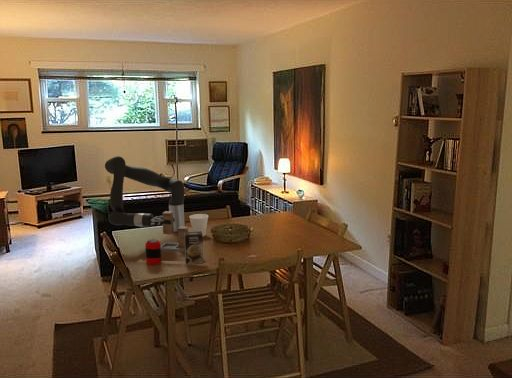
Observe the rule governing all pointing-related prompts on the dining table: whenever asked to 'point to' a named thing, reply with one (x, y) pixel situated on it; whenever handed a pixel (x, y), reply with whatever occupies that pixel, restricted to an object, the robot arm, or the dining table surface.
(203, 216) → the cup
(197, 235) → the coffee box
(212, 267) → the dining table surface
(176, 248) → the grey slotted tray
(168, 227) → the block
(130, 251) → the dining table surface
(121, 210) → the robot arm
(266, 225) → the dining table surface
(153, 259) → the soda can
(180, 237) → the seated billet
